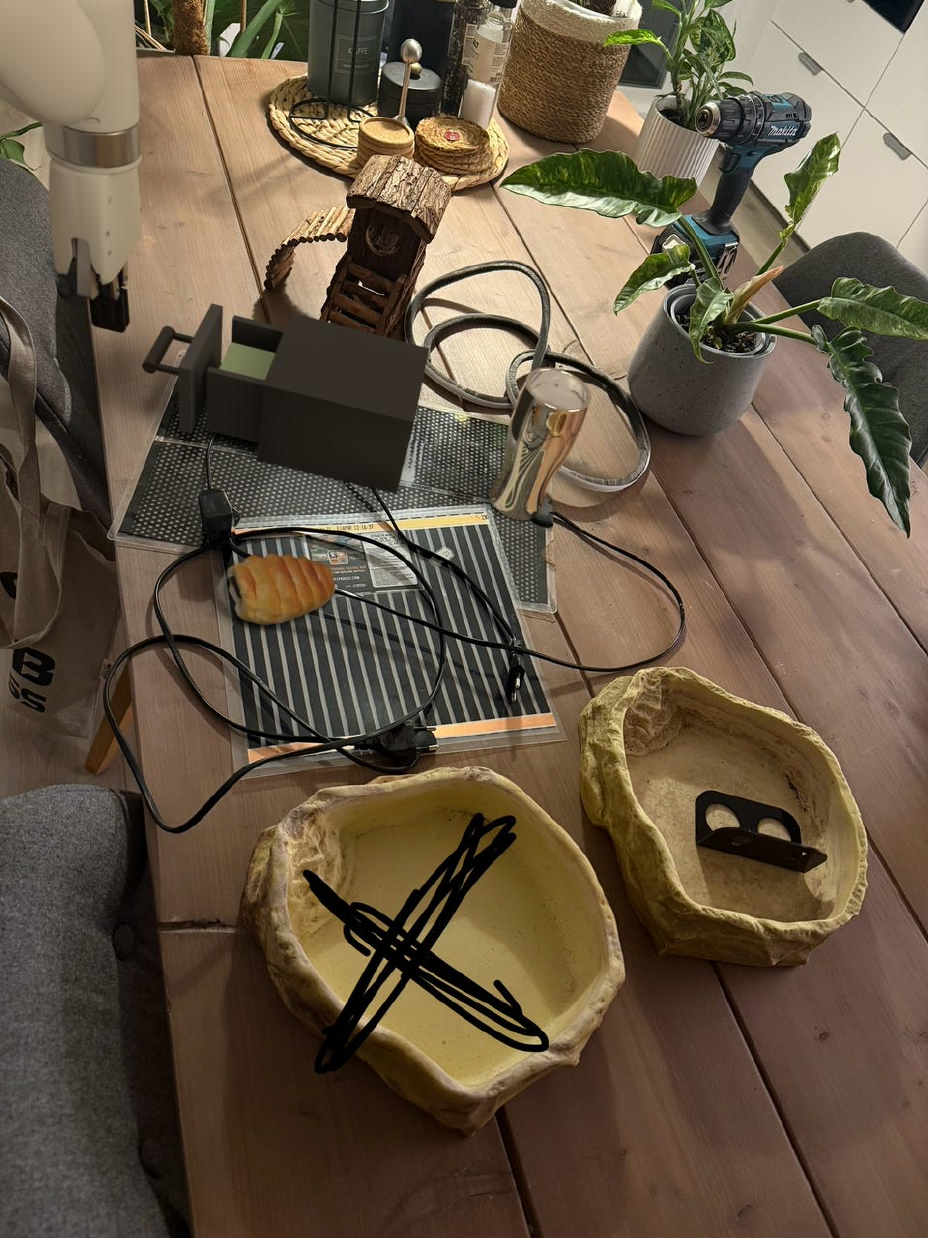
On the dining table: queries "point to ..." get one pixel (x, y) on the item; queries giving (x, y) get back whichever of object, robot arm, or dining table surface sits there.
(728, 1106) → the dining table surface
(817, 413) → the dining table surface
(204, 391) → the drawer
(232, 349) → the block
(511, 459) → the beer glass
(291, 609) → the pastry
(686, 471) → the dining table surface
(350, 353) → the cabinet
